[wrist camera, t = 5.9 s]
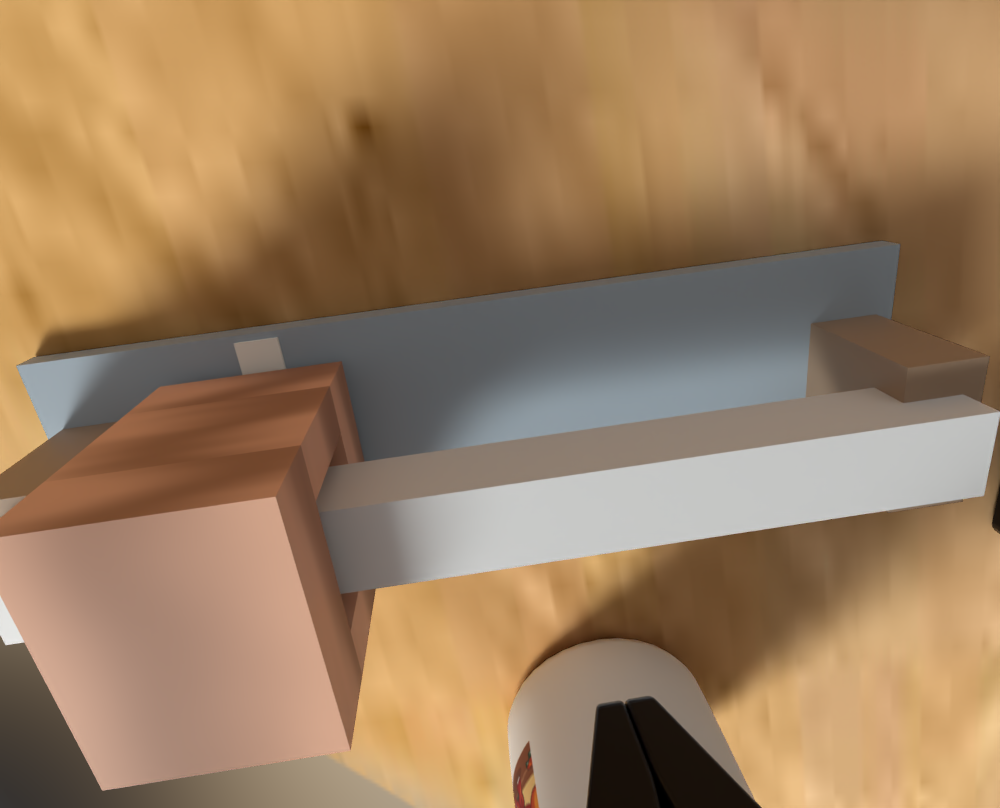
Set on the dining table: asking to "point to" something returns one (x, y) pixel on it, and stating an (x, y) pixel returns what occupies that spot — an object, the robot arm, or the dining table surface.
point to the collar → (195, 581)
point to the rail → (587, 413)
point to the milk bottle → (571, 714)
